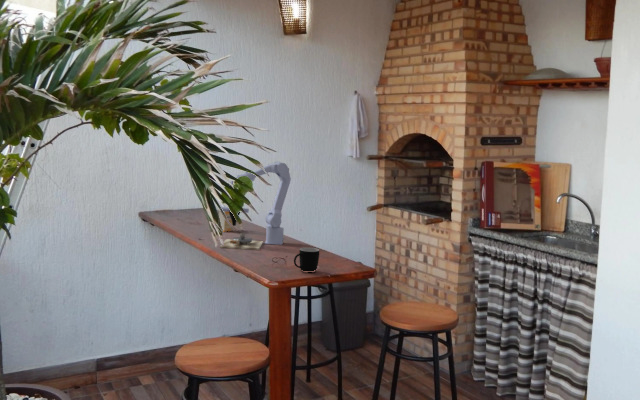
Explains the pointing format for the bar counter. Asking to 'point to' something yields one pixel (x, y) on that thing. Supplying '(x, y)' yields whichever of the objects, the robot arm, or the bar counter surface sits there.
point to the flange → (241, 240)
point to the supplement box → (224, 224)
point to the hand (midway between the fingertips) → (234, 225)
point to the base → (242, 244)
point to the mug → (308, 259)
